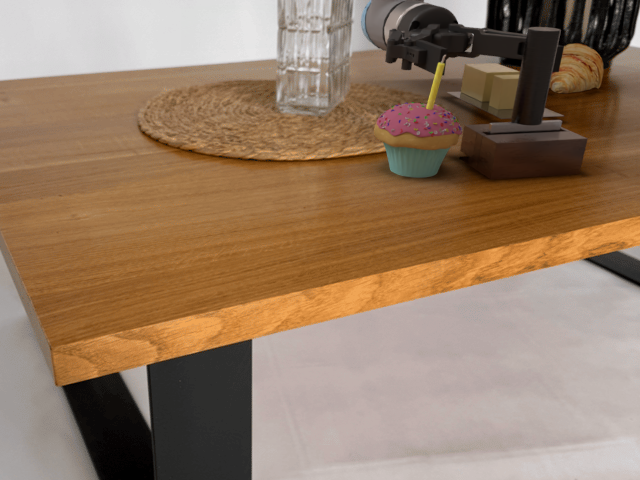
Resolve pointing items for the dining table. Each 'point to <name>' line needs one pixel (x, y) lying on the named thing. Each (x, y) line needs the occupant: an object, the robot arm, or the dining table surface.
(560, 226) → the dining table surface
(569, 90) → the croissant
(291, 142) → the dining table surface
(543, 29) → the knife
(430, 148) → the cupcake
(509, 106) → the butter pat
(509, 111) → the butter board
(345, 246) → the dining table surface
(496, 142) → the knife block
